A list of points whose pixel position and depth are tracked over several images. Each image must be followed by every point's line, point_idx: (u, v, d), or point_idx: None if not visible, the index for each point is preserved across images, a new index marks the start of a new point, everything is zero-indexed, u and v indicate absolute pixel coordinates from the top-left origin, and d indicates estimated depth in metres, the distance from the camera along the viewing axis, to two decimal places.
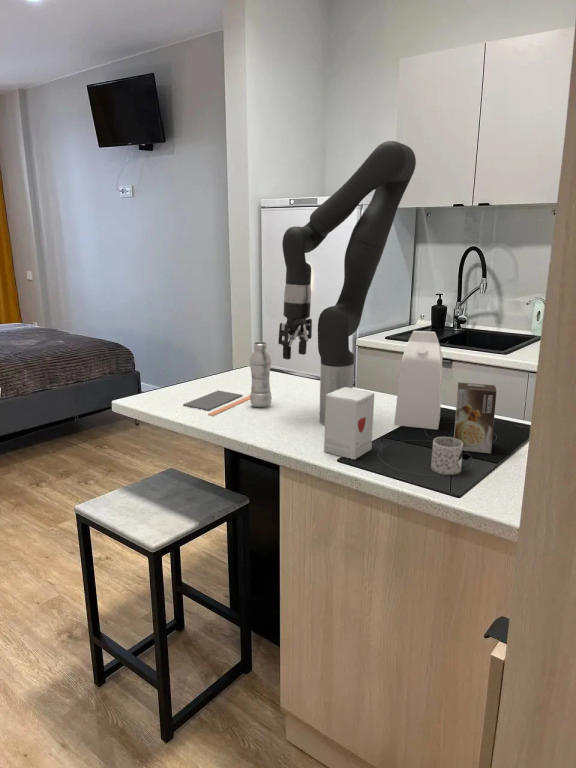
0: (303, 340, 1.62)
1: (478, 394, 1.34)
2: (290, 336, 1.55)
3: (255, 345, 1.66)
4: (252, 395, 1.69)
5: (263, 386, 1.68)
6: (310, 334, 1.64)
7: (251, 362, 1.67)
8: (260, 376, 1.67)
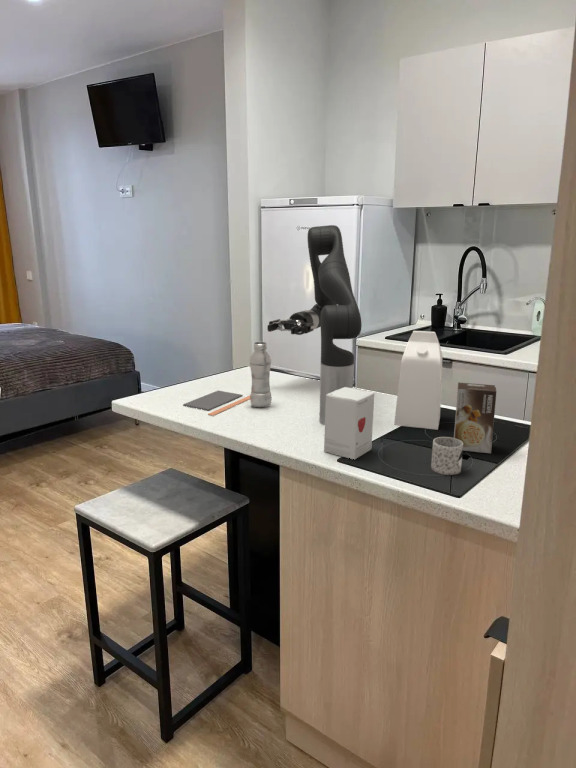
0: None
1: (478, 393, 1.34)
2: None
3: (255, 345, 1.66)
4: (252, 395, 1.69)
5: (263, 386, 1.68)
6: (306, 325, 1.78)
7: (251, 362, 1.67)
8: (260, 376, 1.67)
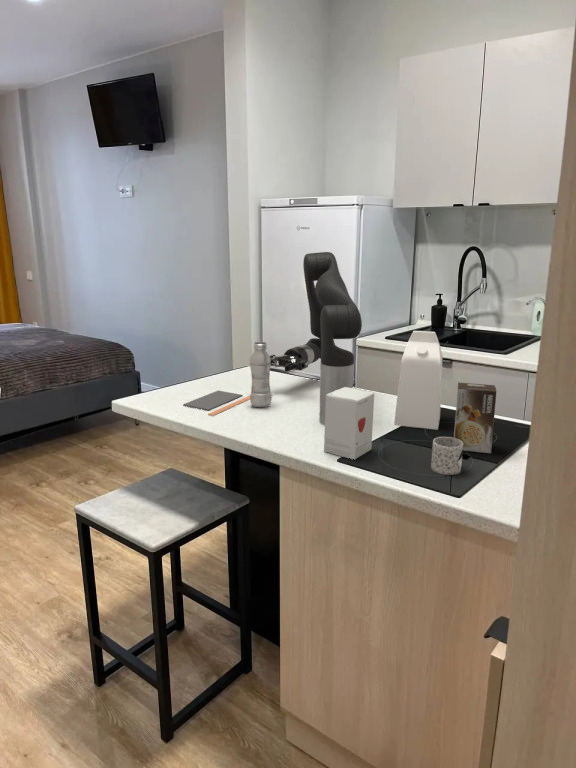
0: None
1: (478, 393, 1.34)
2: None
3: (255, 345, 1.66)
4: (252, 395, 1.69)
5: (263, 386, 1.68)
6: (300, 362, 1.77)
7: (251, 362, 1.67)
8: (260, 376, 1.67)
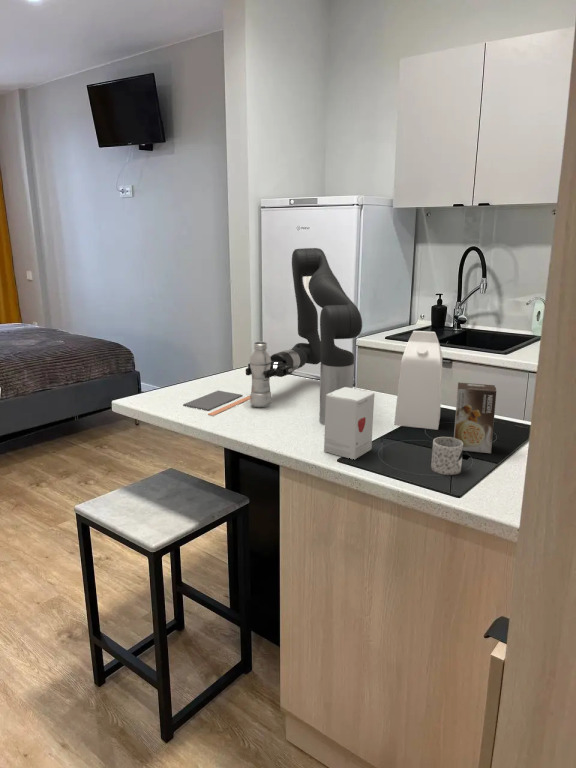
0: None
1: (478, 393, 1.34)
2: None
3: (255, 345, 1.66)
4: (252, 395, 1.69)
5: (263, 386, 1.68)
6: (281, 368, 1.69)
7: (251, 362, 1.66)
8: (260, 376, 1.67)
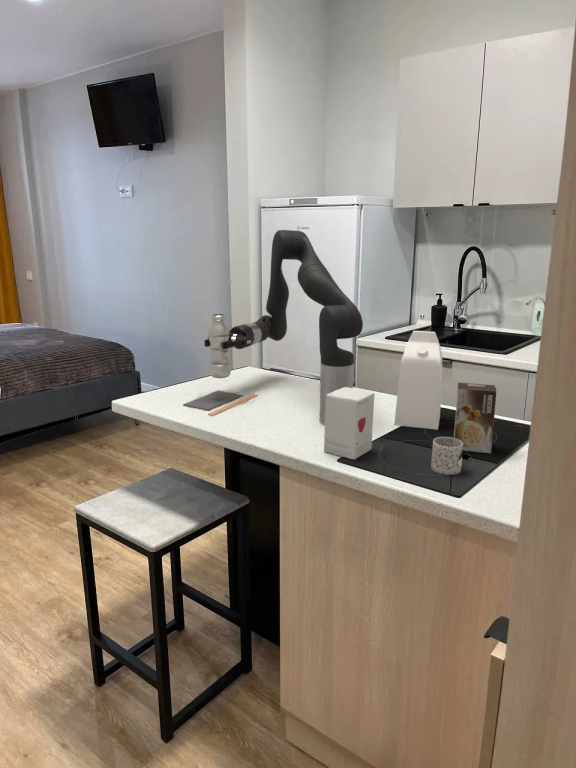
0: None
1: (478, 394, 1.34)
2: None
3: (213, 317, 1.69)
4: (211, 366, 1.72)
5: (221, 357, 1.71)
6: (239, 339, 1.72)
7: (209, 333, 1.69)
8: (218, 347, 1.70)
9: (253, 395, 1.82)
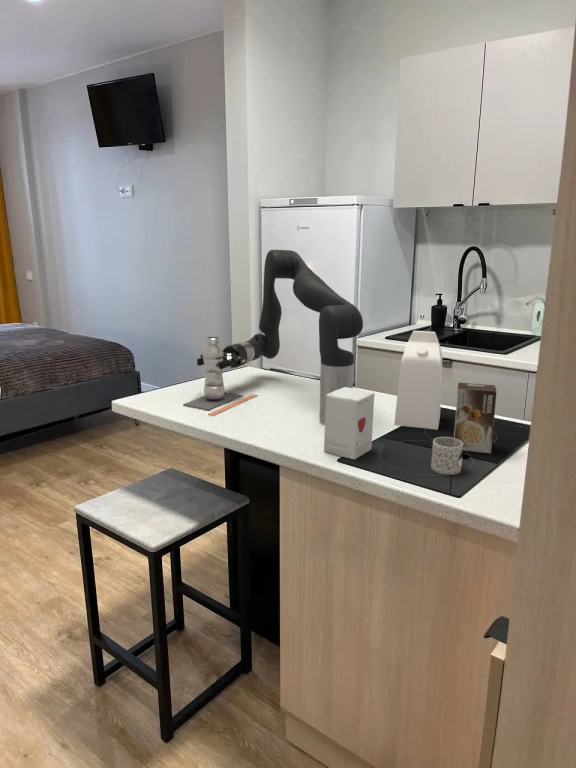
0: None
1: (478, 394, 1.34)
2: None
3: (207, 339, 1.71)
4: (205, 388, 1.74)
5: (215, 379, 1.73)
6: (236, 359, 1.74)
7: (204, 356, 1.72)
8: (213, 370, 1.72)
9: (253, 395, 1.82)
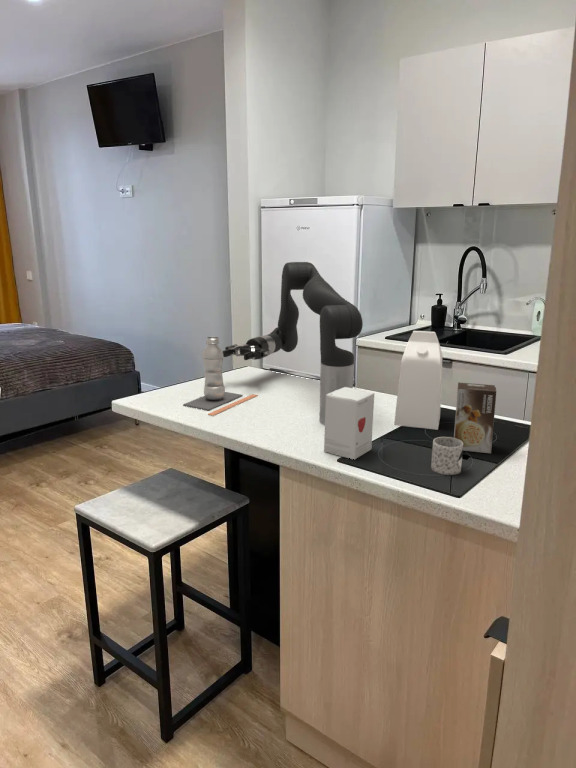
0: None
1: (478, 394, 1.34)
2: None
3: (207, 340, 1.71)
4: (205, 388, 1.74)
5: (215, 379, 1.73)
6: (259, 351, 1.85)
7: (203, 356, 1.72)
8: (212, 370, 1.72)
9: (253, 395, 1.82)
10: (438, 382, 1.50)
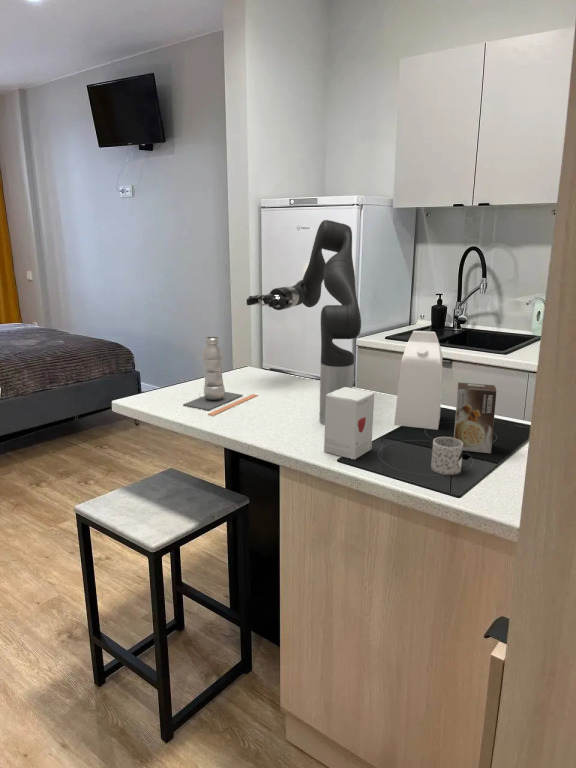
0: None
1: (478, 393, 1.34)
2: None
3: (207, 340, 1.71)
4: (205, 388, 1.74)
5: (215, 379, 1.73)
6: (284, 298, 1.81)
7: (203, 356, 1.72)
8: (212, 370, 1.72)
9: (253, 395, 1.82)
10: (438, 382, 1.50)
